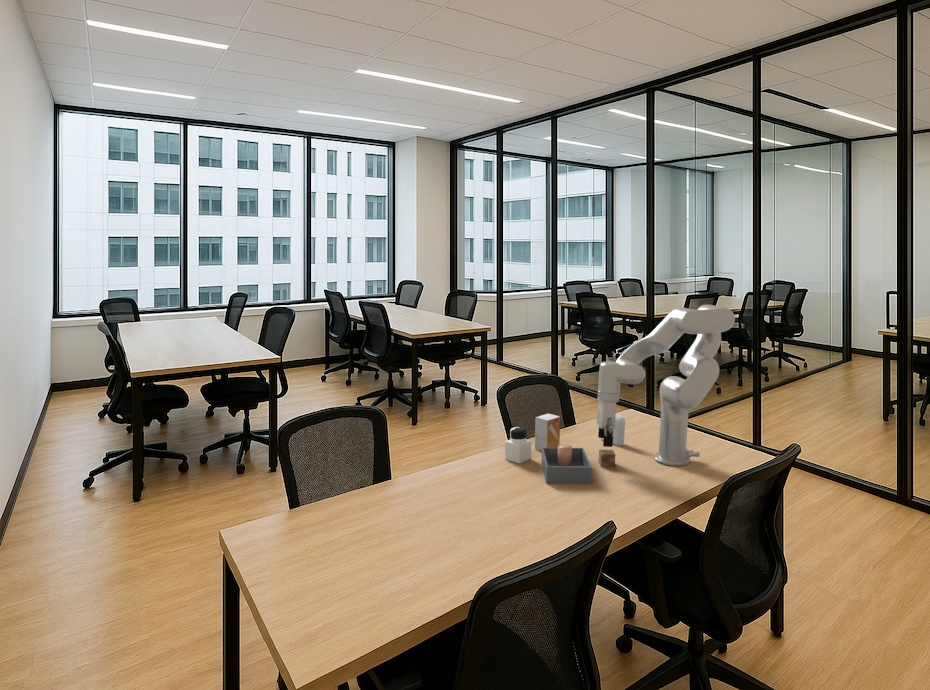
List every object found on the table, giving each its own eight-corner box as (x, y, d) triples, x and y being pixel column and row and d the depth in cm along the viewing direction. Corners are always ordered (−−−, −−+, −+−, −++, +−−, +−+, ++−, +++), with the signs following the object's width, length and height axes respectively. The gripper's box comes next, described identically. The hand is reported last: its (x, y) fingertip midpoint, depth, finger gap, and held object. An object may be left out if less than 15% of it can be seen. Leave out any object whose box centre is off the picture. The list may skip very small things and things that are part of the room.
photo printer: (625, 444, 242) (627, 414, 240) (618, 446, 240) (619, 416, 238) (606, 438, 251) (607, 409, 249) (598, 440, 248) (599, 410, 246)
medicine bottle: (531, 459, 227) (531, 428, 225) (519, 464, 222) (520, 432, 220) (516, 454, 232) (516, 424, 230) (504, 459, 227) (504, 428, 225)
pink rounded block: (569, 462, 221) (570, 444, 220) (572, 467, 216) (573, 448, 215) (556, 462, 221) (556, 444, 220) (558, 467, 216) (559, 448, 215)
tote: (582, 462, 223) (583, 447, 222) (591, 483, 204) (592, 467, 203) (541, 462, 223) (541, 447, 222) (546, 483, 205) (546, 466, 204)
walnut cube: (612, 462, 223) (612, 449, 222) (614, 467, 218) (615, 454, 218) (598, 462, 224) (599, 449, 223) (600, 467, 219) (601, 454, 218)
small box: (547, 453, 234) (547, 420, 231) (534, 449, 238) (534, 417, 236) (560, 448, 239) (560, 416, 237) (547, 444, 244) (547, 413, 241)
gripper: (593, 390, 225) (590, 434, 228) (602, 402, 208) (599, 449, 211) (614, 390, 225) (610, 435, 228) (624, 402, 208) (620, 450, 211)
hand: (605, 442), depth 219 cm, fingers open, 9 cm apart
